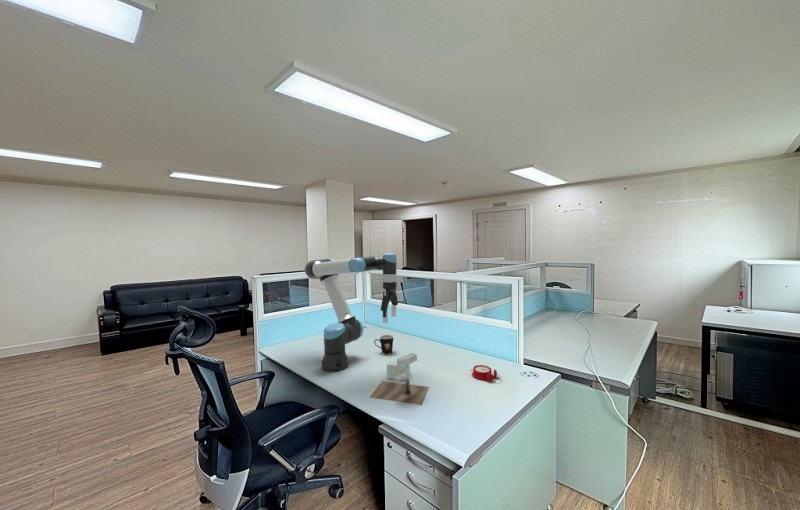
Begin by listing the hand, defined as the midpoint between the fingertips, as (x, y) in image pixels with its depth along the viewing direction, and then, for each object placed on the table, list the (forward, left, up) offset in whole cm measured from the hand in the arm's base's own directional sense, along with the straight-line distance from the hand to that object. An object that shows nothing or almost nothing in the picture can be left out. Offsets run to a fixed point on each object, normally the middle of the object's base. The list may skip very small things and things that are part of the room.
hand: (389, 319), depth 168 cm
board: (+14, -26, -27) cm, 40 cm away
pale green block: (+8, -10, -28) cm, 30 cm away
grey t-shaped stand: (+17, -27, -26) cm, 41 cm away
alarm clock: (+51, +2, -28) cm, 58 cm away
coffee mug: (-11, +22, -28) cm, 37 cm away
